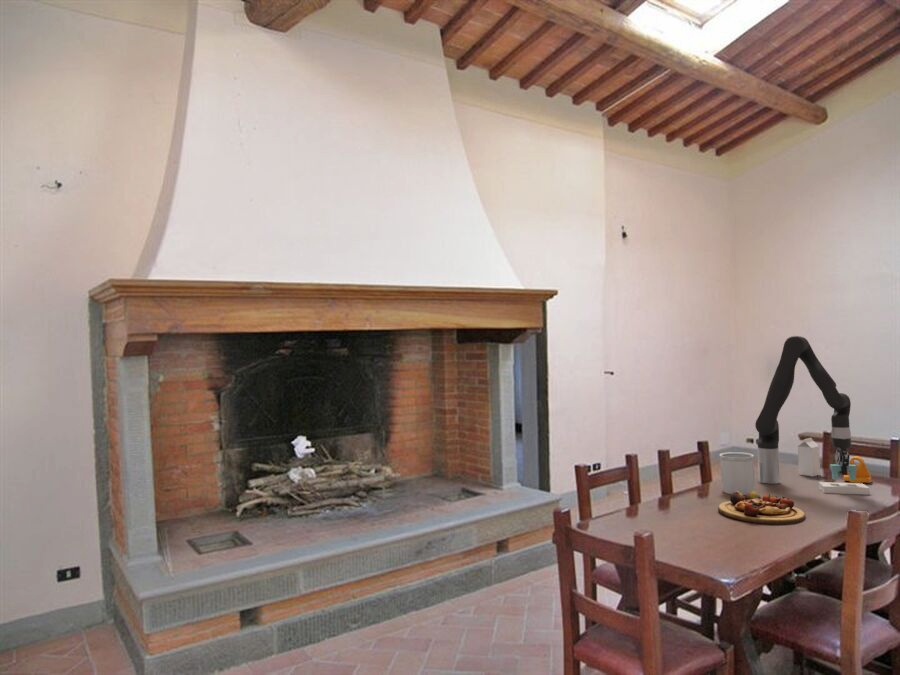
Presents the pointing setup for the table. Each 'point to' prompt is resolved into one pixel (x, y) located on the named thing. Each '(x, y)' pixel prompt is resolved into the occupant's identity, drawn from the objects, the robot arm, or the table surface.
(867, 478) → the bracket
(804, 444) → the milk carton
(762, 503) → the wooden plate with food
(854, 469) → the teal block
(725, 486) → the utensil holder
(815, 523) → the table surface
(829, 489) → the white slotted board
